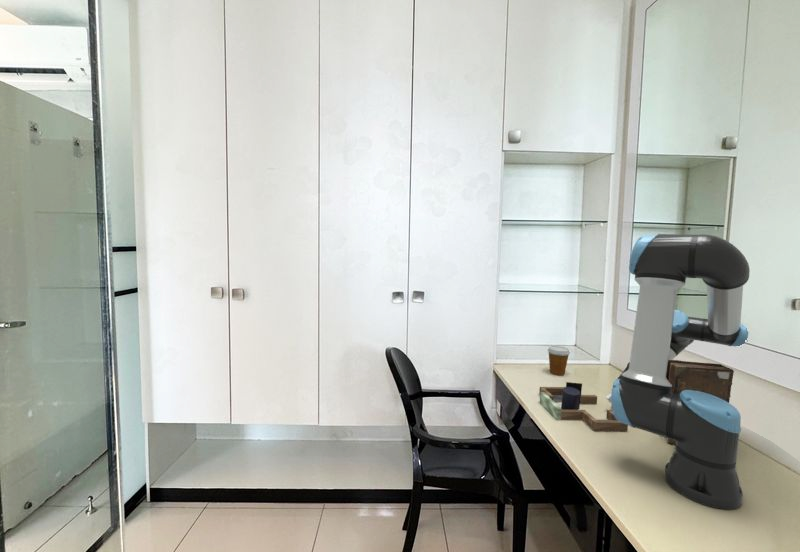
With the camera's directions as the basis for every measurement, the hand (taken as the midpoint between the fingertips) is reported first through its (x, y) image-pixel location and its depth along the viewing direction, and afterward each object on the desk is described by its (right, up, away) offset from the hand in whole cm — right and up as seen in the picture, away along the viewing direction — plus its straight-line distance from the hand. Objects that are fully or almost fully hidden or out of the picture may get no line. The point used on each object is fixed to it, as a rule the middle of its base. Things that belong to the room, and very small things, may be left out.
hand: (608, 400), depth 133 cm
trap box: (-11, -4, 0) cm, 12 cm away
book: (+15, -6, -20) cm, 26 cm away
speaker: (-14, -4, -1) cm, 15 cm away
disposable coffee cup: (-3, 0, +38) cm, 38 cm away
